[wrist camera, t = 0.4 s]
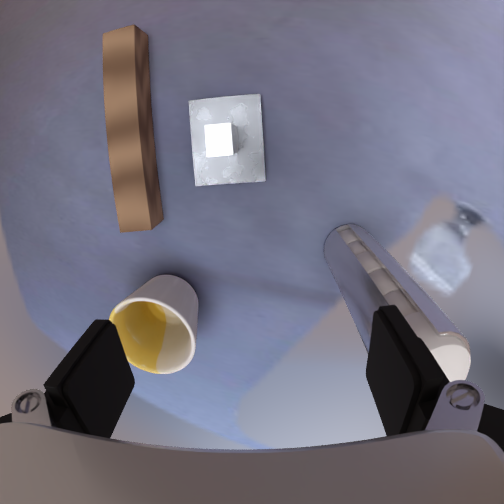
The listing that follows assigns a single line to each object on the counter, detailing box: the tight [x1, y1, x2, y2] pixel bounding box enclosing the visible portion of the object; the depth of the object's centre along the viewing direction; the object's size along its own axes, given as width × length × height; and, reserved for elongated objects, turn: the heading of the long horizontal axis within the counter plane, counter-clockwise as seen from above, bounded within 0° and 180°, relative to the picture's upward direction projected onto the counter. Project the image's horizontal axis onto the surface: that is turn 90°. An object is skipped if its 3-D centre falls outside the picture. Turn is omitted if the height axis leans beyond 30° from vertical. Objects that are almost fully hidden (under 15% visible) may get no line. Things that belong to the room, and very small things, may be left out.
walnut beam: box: [103, 25, 164, 233], centre depth 33 cm, size 24×4×5 cm, turn 4°
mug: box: [109, 275, 199, 374], centre depth 38 cm, size 14×10×10 cm
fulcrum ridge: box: [189, 94, 266, 186], centre depth 32 cm, size 10×8×8 cm
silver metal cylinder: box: [324, 224, 471, 382], centre depth 28 cm, size 6×6×25 cm
